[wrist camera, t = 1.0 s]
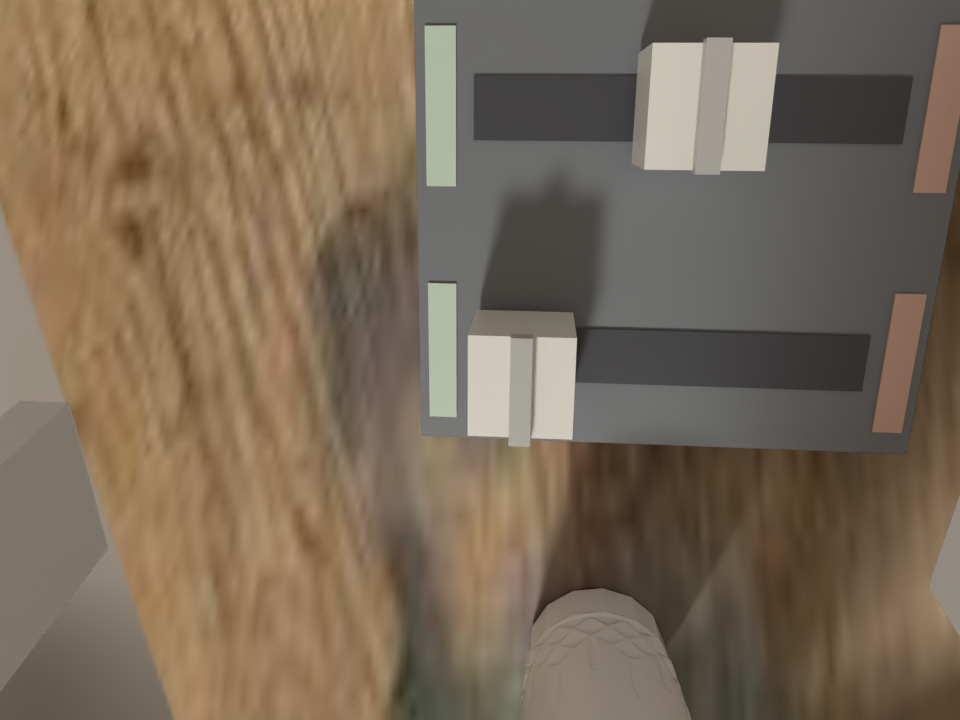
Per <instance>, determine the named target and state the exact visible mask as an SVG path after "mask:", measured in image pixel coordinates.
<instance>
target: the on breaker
mask: <svg viewBox="0 0 960 720" xmlns="http://www.w3.org/2000/svg"><path fill="white" fill-rule="evenodd" d="M576 350H577V335H576V328H575V322H574V315H573V312H542V311H503V310H477V311H476V313H475V316H474V319H473V322H472V325H471V328H470V330H469V333H468V436H487V437H509V445H508V446H520V447H530V438H540V439H567V440H572V437H573V415H574V394H575V372H576Z"/></svg>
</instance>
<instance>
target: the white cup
mask: <svg viewBox="0 0 960 720" xmlns="http://www.w3.org/2000/svg"><path fill="white" fill-rule="evenodd" d="M518 720H691V717H690V714H689V711H688V707H687V705H686V702H685V700H684V697H683V694H682V691H681V687H680V684H679V681H678V679H677V677H676V673H675V670H674V667H673V664H672V661H671V660H670V658H669V657H668V655H667V652H666V648H665V645H664V642H663V639H662V636H661V634H660V631H659V629H658V626H657V624H656V621H655V619H654V616H653V615H652V614H651V613H650V612H649V611H647V610H646V609H645V608H644V607H643V606H642V605H640V604H639V603H638V602H637V601H636V600H635V599H633V598H632V597H631V596H627V595H624V594H620V593H617V592H614V591H610V590H607V589H604V588H598V589H588V590H578V591H572V592H570V593H568V594H566V595H564V596H562V597H561V598H559V599H557V600H555V601H553V602H552V603H550V604H548V605H547V606H546V607H545V609H544V610H543V612H542V613H541V615H540V616H539V617H538V619H537V620H536V622H535V623H534V625H533V626H532V631H531V642H530V653H529V659H528V665H527V668H526V671H525V673H524V682H523V688H522V694H521V706H520V711H519V718H518Z"/></svg>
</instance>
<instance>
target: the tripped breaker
mask: <svg viewBox="0 0 960 720" xmlns="http://www.w3.org/2000/svg"><path fill="white" fill-rule="evenodd" d="M778 51H779V43H733V38H705V39H703V43H652V44H650V45H649V46H648V47H646V48H645V49H643V50H642V51H641V52H639V53H638V68H637V83H636V99H635V115H634V131H633V147H632V162H631V163H632V164H634V165H636V166H638V167H640V168H642V169H644V170H692V174H696V175H720V171H765V165H766V156H767V148H768V139H769V130H770V121H771V112H772V104H773V95H774V86H775V77H776V68H777V60H778Z"/></svg>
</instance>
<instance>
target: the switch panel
mask: <svg viewBox="0 0 960 720" xmlns="http://www.w3.org/2000/svg"><path fill="white" fill-rule="evenodd" d="M414 21H415V81H416V141H417V200H418V260H419V320H420V379H421V436H437V437H464V438H490V439H509V437H487V436H468V333H469V330H470V328H471V325H472V322H473V319H474V316H475V313H476V311H477V310H503V311H542V312H573V315H574V322H575V328H576V335H577V350H576V372H575V394H574V415H573V437H572V440H567V439H540V438H530V440H543V441H570V442H597V443H623V444H650V445H676V446H703V447H730V448H756V449H783V450H809V451H836V452H863V453H889V454H906V453H907V448H908V442H909V437H910V431H911V426H912V421H913V415H914V410H915V405H916V399H917V394H918V389H919V383H920V378H921V372H922V367H923V362H924V356H925V351H926V346H927V340H928V335H929V330H930V324H931V319H932V313H933V308H934V303H935V297H936V292H937V287H938V281H939V276H940V271H941V265H942V260H943V254H944V249H945V244H946V238H947V233H948V228H949V222H950V217H951V212H952V206H953V201H954V195H955V190H956V185H957V179H958V174H959V169H960V0H414ZM705 38H733V43H779V51H778V60H777V68H776V77H775V86H774V95H773V104H772V112H771V121H770V130H769V139H768V148H767V156H766V165H765V171H720V175H696V174H692V170H644V169H642V168H640V167H638V166H636V165H634V164H632V163H631V162H632V147H633V131H634V115H635V99H636V83H637V68H638V53H639V52H641V51H642V50H643V49H645V48H646V47H648V46H649V45H650V44H652V43H703V39H705Z"/></svg>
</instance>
